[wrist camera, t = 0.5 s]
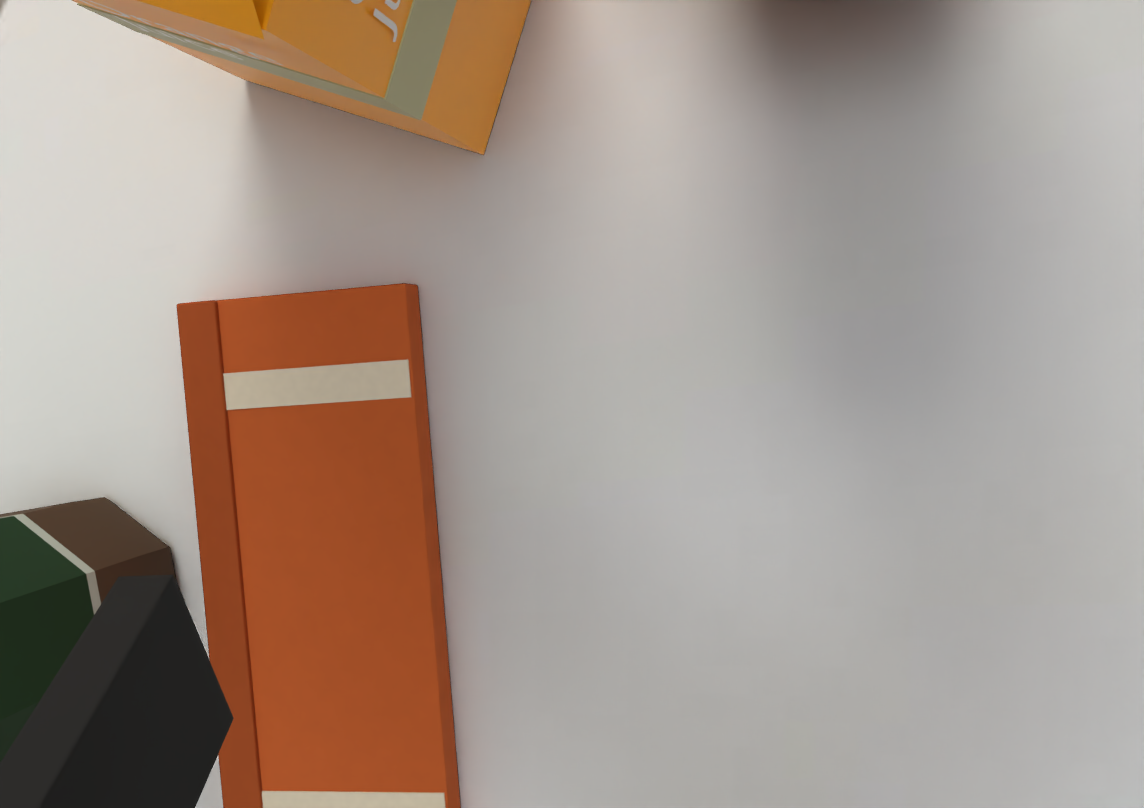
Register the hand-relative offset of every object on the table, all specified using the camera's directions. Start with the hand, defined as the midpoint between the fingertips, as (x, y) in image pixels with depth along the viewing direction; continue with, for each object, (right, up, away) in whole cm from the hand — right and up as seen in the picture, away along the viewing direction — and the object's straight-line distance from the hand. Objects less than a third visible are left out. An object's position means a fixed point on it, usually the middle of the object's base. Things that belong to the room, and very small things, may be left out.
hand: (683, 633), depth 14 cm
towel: (-10, -3, +23) cm, 25 cm away
